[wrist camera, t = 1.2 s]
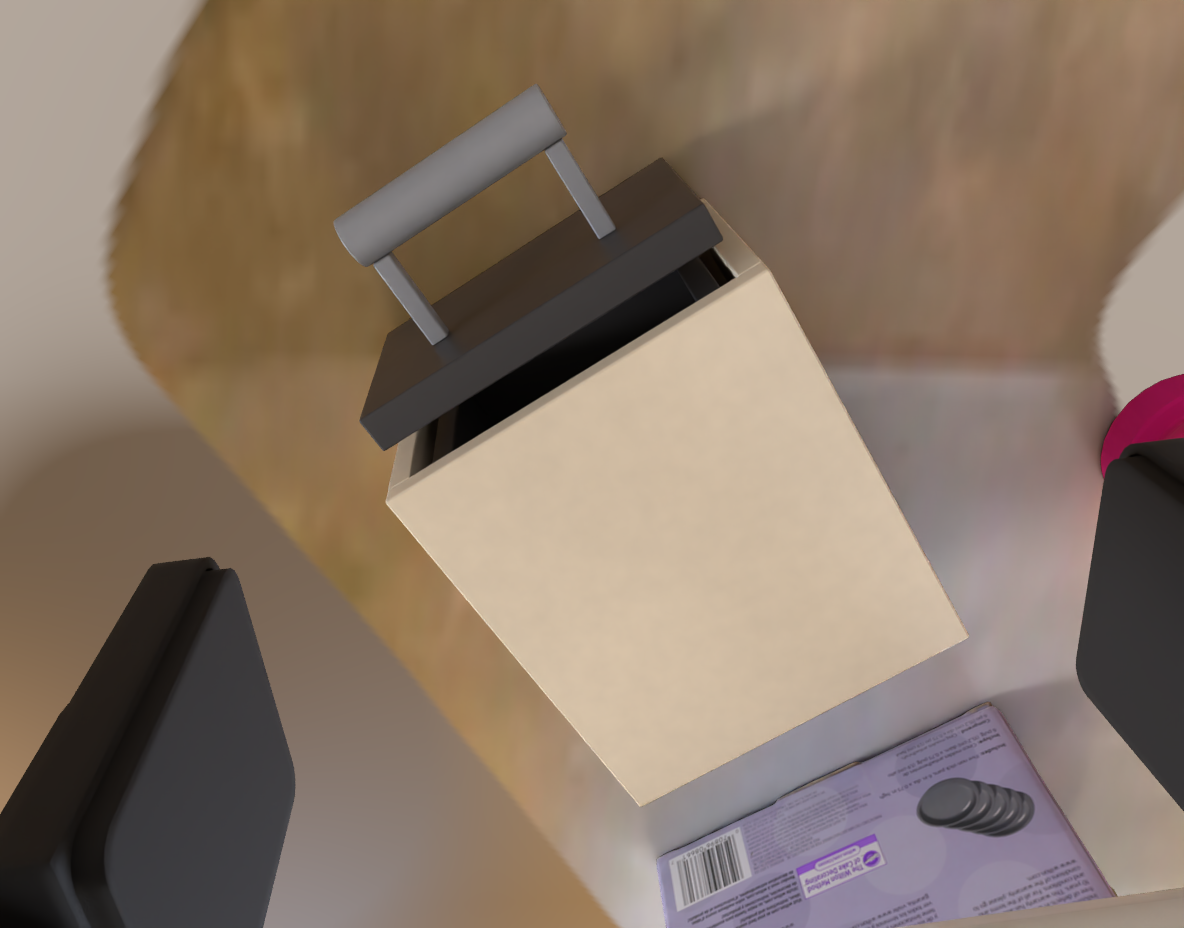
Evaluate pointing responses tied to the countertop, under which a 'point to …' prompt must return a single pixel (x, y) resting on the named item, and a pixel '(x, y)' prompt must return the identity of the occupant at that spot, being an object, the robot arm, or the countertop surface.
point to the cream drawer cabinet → (684, 538)
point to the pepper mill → (1147, 419)
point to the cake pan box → (892, 843)
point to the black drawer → (522, 280)
